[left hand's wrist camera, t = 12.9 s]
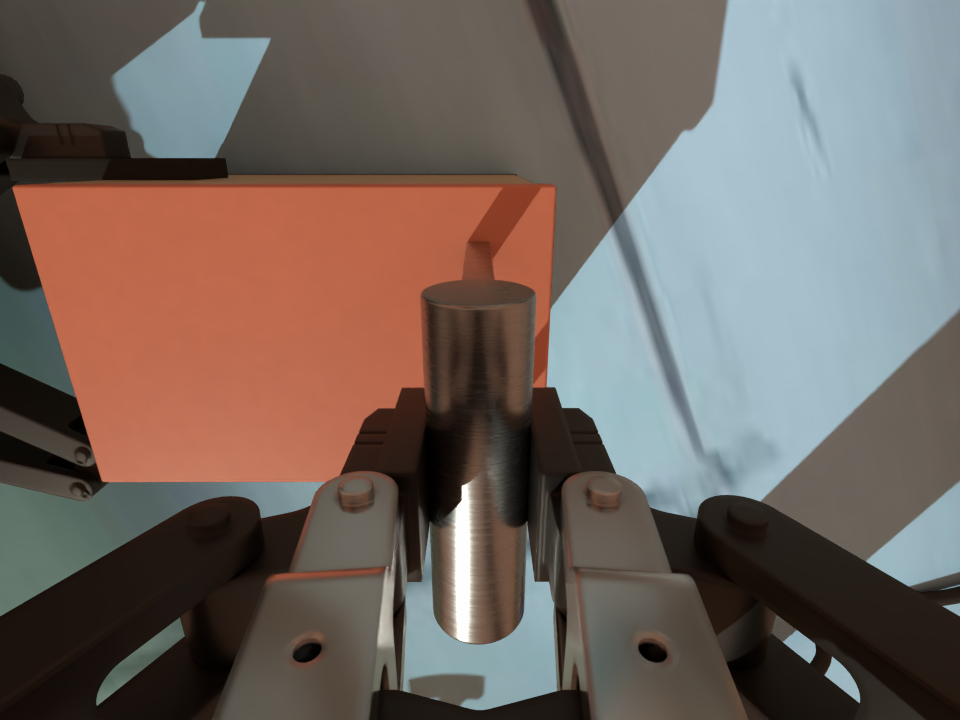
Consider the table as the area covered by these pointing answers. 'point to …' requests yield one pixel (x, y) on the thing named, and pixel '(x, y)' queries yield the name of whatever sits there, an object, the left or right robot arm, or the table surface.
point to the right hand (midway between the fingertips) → (234, 307)
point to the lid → (313, 344)
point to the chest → (335, 179)
